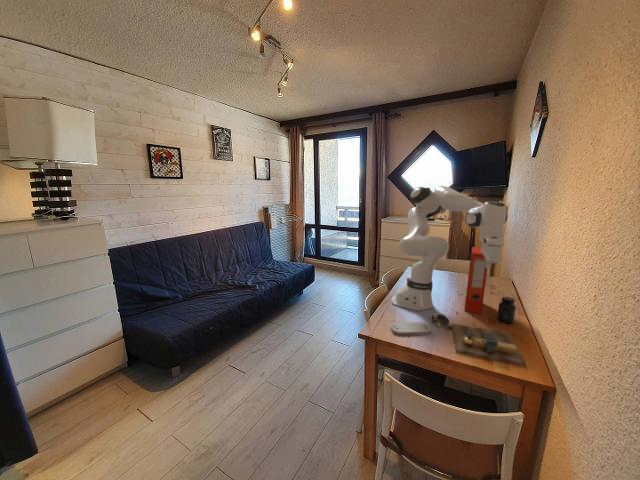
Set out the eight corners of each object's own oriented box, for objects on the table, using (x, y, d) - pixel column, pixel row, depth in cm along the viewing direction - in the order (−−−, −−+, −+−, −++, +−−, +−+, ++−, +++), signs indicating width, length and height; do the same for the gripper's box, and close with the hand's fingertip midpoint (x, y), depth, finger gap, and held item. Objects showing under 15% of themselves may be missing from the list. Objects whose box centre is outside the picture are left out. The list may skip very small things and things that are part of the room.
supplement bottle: (497, 316, 136) (500, 294, 134) (513, 320, 132) (516, 297, 130) (496, 322, 130) (499, 299, 128) (513, 326, 127) (517, 302, 124)
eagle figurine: (428, 325, 126) (448, 328, 120) (429, 310, 128) (449, 312, 123) (433, 328, 131) (453, 331, 125) (434, 313, 134) (454, 315, 128)
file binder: (481, 302, 153) (488, 248, 146) (481, 314, 138) (489, 255, 132) (465, 299, 157) (471, 246, 150) (464, 311, 142) (470, 253, 136)
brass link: (463, 345, 109) (464, 333, 108) (462, 339, 113) (463, 328, 112) (516, 355, 102) (518, 343, 101) (513, 349, 106) (515, 337, 105)
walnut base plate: (456, 352, 107) (456, 349, 106) (451, 326, 127) (451, 323, 126) (525, 366, 98) (525, 362, 98) (508, 336, 118) (509, 332, 118)
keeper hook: (484, 352, 104) (485, 340, 103) (481, 343, 110) (482, 332, 109) (496, 355, 103) (497, 342, 102) (492, 345, 109) (494, 334, 108)
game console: (394, 331, 119) (389, 322, 127) (394, 336, 120) (389, 326, 128) (434, 330, 120) (426, 321, 128) (433, 335, 120) (425, 326, 128)
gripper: (479, 233, 130) (476, 260, 132) (487, 241, 111) (483, 273, 114) (494, 234, 127) (490, 262, 130) (505, 242, 109) (501, 275, 111)
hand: (487, 267), depth 122 cm, fingers closed
